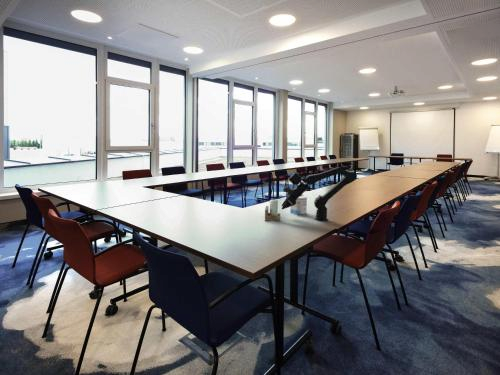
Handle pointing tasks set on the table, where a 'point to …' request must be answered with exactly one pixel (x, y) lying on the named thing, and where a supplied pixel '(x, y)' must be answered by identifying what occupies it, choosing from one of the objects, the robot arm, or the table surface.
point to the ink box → (299, 206)
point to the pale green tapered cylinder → (273, 207)
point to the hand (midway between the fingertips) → (282, 207)
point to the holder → (268, 217)
